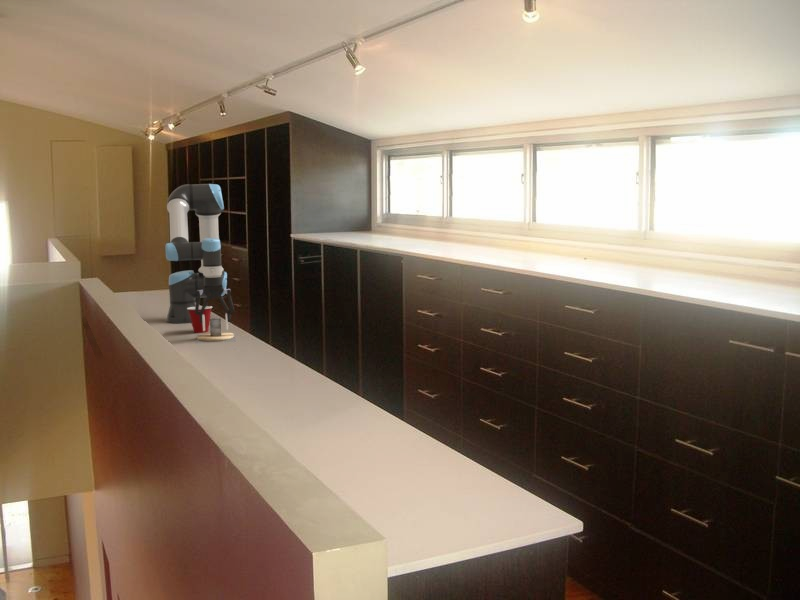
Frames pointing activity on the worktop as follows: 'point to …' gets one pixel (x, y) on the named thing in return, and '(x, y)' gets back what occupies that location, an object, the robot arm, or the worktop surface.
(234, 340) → the mat
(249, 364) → the worktop surface
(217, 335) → the lid
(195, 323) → the plastic cup
